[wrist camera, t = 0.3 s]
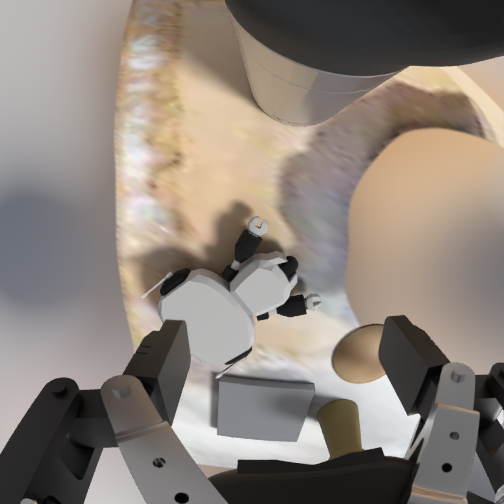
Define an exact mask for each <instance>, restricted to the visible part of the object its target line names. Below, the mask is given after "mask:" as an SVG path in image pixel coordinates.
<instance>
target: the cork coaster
mask: <svg viewBox="0 0 504 504" xmlns="http://www.w3.org/2000/svg"><path fill="white" fill-rule="evenodd" d="M383 327H384V324H368V325H364V326H361V329H359V330H357V331H355V332H353V333H352V334H350V335H349V336H348V337H347V338H345V339H344V340H343V342H342V343H341V344H340V345H339V347H338V348H337V350H336V353H335V356H334V367H335V371H336V373H337V374H338V376H339V377H340V378H341V379H343V380H345V381H347V382H350V383H355V384H361V383H368V382H372V381H374V380H377V379H379V378H381V377H382V376H384V375H385V374H386V373H385V371H384V369H383V367H382V365H381V364H380V361H379V357H378V349H379V344H380V340H381V336H382V332H383Z"/></svg>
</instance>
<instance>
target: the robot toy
mask: <svg viewBox="0 0 504 504" xmlns="http://www.w3.org/2000/svg"><path fill="white" fill-rule="evenodd" d="M260 219H261V218H260V217H258V216H255V217H253V218H252V219H251V220H250V221H249V222H248V230H247V229H245V230H244V231H243V233H242V234H241V236H240V238H239V240H238V242H237V243H236V245H235V260H234V262H233V263H232V265H228V266H227V267H226V268H225V270H224V272H223V274H222V277H223V278H224V279H225V280H224V279H223V278H221V277H220V276H219V275H217V274H216V273H214V272H212V271H209V270H206V269H203V268H201V269H197V270H192V271H191V270H190V269H188V268H186V269H182V270H179V271H176V272H175V273H174V274H173V273H172V272H171V271H170V272H169V273H168V274H167V275H166V277H165V278H163V279H162V280H161V281H160V282H159V283H157V284H156V285H155V286H154V287H152V288H151V289H150V290H149V291H148V292H146V293H144V294H143V295H142V297H141V299H142V298H145V297H146V296H147V295H148V294H149V293H150V292H151V291H152V290H154V289H155V288H156V287H157V286H158V285H160V284H161V283H162V282H163V281H165V282H164V284H163V285H162V287H161V290H160V293H161V298H160V300H159V302H158V305H157V306H158V313H159V316H160V319H161V321H162V323H164V322H165V320H166V319H171V320H185V322H186V325H187V332H188V339H189V346H190V354H191V355H192V356H193V357H195V358H196V359H198V360H200V361H202V362H204V363H207V364H211V365H222V364H226V365H228V364H232V363H233V364H232V365H230V366H229V367H228V368H226V369H225V370H224V371H222V372H221V373H219V374H217V375H216V378H220V377H221V376H222V375H223V374H224V373H225V372H227V371H228V370H230V369H231V368H232V367H234V366H235V365H236V364H238V363H239V362H240V361H241V362H242V361H244V360H245V359H246V356H247V355H248V354H249V353H250V352H251V351H252V345H253V343H254V342H255V322H254V318H253V316H252V315H254V316H257V319H258V321H259V320H265V319H268V318H269V315H271V314H276V313H277V314H280V315H283V316H287V317H294V316H299V315H304V314H306V309H309V310H313V311H314V310H316V309H319V308H320V306H321V302H320V301H319V300H321V299H320V296H319V295H318V294H310V295H309V296H307V297H306V298H305V299H304V297H303V295H302V294H300V295H295V296H290V297H289V295H290V292H291V290H292V289H293V288H294V286H295V285H296V284H297V274H296V270H297V268H298V261H297V260H296V259H295V258H294V257H293V256H287V257H286V256H285V254H283V253H281V252H279V251H275V252H271V253H267V254H264V253H259V254H256V255H254V253H255V251H256V250H257V248H258V246H259V244H260V243H261V241H262V239H261V237H260V236H261V235H263V234H264V233H266V232H267V229H268V223H267V221H265V220H264V219H263V222H262V224H261V226H260V227H258V226H256V224H257V223H258V221H259V220H260ZM244 261H245V262H244ZM243 262H244V263H243ZM241 263H243V264H242V265H241ZM240 265H241V266H240ZM226 280H227V281H229V282H230V284H229V283H228V282H227V281H226ZM315 301H318V302H315Z"/></svg>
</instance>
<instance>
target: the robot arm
mask: <svg viewBox="0 0 504 504" xmlns="http://www.w3.org/2000/svg"><path fill="white" fill-rule="evenodd" d="M225 2H226V4H227V8H228V11H229V14H230V18H231V21H232V24H233V28H234V31H235V34H236V37H237V41H238V44H239V48H240V51H241V55H242V59H243V62H244V66H245V70H246V74H247V78H248V82H249V85H250V89H251V92H252V95H253V97H254V99H255V101H256V103H257V104H258V106H259V107H260V108H261V109H262V110H263V111H264V112H265V113H266V114H267V115H269V116H270V117H271V118H273V119H274V120H277V121H279V122H281V123H283V124H287V125H292V126H304V127H305V126H311V125H316V124H318V123H321V122H324V121H325V120H327V119H328V118H330V117H331V116H333V115H334V114H336V113H338V112H339V111H341V110H342V109H344V108H345V107H347V106H348V105H350V104H351V103H353V102H354V101H356V100H357V99H359V98H360V97H362V96H363V95H365V94H366V93H368V92H369V91H371V90H373V89H374V88H376V87H377V86H379V85H380V84H382V83H383V82H385V81H386V80H388V79H389V78H391V77H393V76H394V75H396V74H398V73H399V72H401V71H402V70H404V69H406V68H407V67H409V66H435V67H443V66H459V65H465V64H471V63H475V62H479V61H484V60H488V59H492V58H495V57H500V56H504V0H225ZM378 357H379V361H380V364H381V365H382V367H383V369H384V371H385V373H386V375H387V377H388V378H389V380H390V382H391V384H392V386H393V388H394V390H395V392H396V394H397V396H398V398H399V399H400V401H401V403H402V405H403V407H404V409H405V411H406V413H407V415H408V416H409V415H414V414H418V413H419V414H420V418H419V420H418V422H417V425H416V428H415V431H414V434H413V436H412V439H411V442H410V445H409V447H408V450H407V452H406V455H405V457H404V459H403V458H398V457H392V456H384V453H383V450H382V448H381V447H379V448H375V449H369V450H364V451H358V452H352V453H348V454H345V455H342V456H340V457H337V458H334V459H331V460H328V461H325V462H322V463H319V464H315V465H309V464H301V463H293V462H286V461H280V460H238V466H237V469H234V470H229V471H225V472H221V473H219V474H216V475H213V476H211V477H209V478H207V477H206V476H205V475H204V473H203V472H202V471H201V469H200V468H199V467H198V465H197V464H196V463H195V461H194V460H193V459H192V457H191V456H190V454H189V453H188V452H187V450H186V449H185V447H184V446H183V444H182V443H181V441H180V440H179V438H178V437H177V435H176V434H175V432H174V431H173V429H172V428H171V426H172V423H173V420H174V416H175V413H176V410H177V406H178V403H179V400H180V397H181V393H182V390H183V387H184V384H185V380H186V377H187V374H188V371H189V367H190V361H191V354H190V346H189V339H188V332H187V325H186V322H185V320H171V319H166V320H165V322H164V323H163V325H162V327H161V329H160V331H152V332H151V333H149V334H148V335H147V336H145V337H144V339H143V340H142V342H141V344H140V347H138V349H137V350H136V354H134V355H133V357H132V359H131V360H130V362H129V364H128V366H127V367H126V369H125V371H124V372H123V374H122V375H118V376H114V377H112V378H110V379H108V380H107V381H106V382H104V384H103V385H102V387H101V389H95V390H79V387H78V385H77V383H76V382H75V381H74V380H72V379H70V378H57V379H54V380H52V381H50V382H48V383H47V384H46V385H45V386H44V388H43V389H42V391H41V392H40V394H39V395H38V396H37V398H36V399H35V401H34V402H33V404H32V405H31V407H30V408H29V409H28V411H27V413H26V414H25V416H24V417H23V419H22V420H21V422H20V423H19V425H18V426H17V428H16V429H15V431H14V433H13V434H12V436H11V437H10V439H9V441H8V442H7V444H6V446H5V448H4V449H3V451H2V452H1V454H0V504H84V501H85V498H86V495H87V492H88V489H89V486H90V483H91V480H92V478H93V475H94V472H95V469H96V466H97V464H98V461H99V458H100V456H101V453H102V450H103V448H105V447H106V448H109V447H119V448H120V451H121V453H122V455H123V458H124V460H125V462H126V464H127V466H128V468H129V471H130V473H131V475H132V477H133V479H134V481H135V483H136V485H137V487H138V489H139V490H140V492H141V494H142V496H143V498H144V500H145V502H146V503H147V504H504V429H503V428H502V426H501V425H500V423H499V421H498V420H497V417H498V415H499V414H500V412H501V411H502V409H503V410H504V363H496V364H494V365H493V366H492V368H491V370H490V372H489V374H488V375H475V373H474V372H473V370H472V369H470V367H468V366H467V365H465V364H462V363H457V362H452V363H451V362H450V361H449V360H448V359H447V357H446V356H445V355H444V354H443V353H442V351H441V350H440V349H439V348H438V346H437V345H435V343H434V342H433V341H432V340H431V338H430V337H429V336H428V335H427V334H426V332H425V331H423V330H422V329H420V328H419V327H417V326H414V325H413V324H412V323H411V322H410V321H409V320H408V318H407V317H406V316H405V315H400V316H389V317H387V318H386V320H385V323H384V327H383V332H382V336H381V340H380V344H379V349H378ZM475 451H476V453H477V455H478V457H479V459H480V461H481V463H482V465H483V467H484V469H485V471H486V473H487V476H488V478H489V480H490V483H491V485H492V487H493V489H494V492H495V494H496V496H495V503H493V502H491V501H489V500H487V499H484V498H482V497H480V496H478V495H476V494H474V493H471V492H469V491H467V489H468V486H469V481H470V477H471V472H472V467H473V462H474V456H475Z"/></svg>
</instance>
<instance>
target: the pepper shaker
mask: <svg viewBox="0 0 504 504" xmlns="http://www.w3.org/2000/svg"><path fill="white" fill-rule="evenodd" d="M317 416H318V421H319V424H320V427H321V430H322V433H323V436H324V439H325V442H326V445H327V448H328V451H329V454H330V458H329V460H331V459H334V458H337V457H340V456H342V455H345V454H348V453H352V452H358V451H364V449H362V446H361V433H360V422H359V412H358V406H357V404H356V403H355V402H353V401H351V400H336V401H333V402H330V403H328V404H326V405H325V406H323V407H322V408H321V409H320V410H319V412H318V415H317Z"/></svg>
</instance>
